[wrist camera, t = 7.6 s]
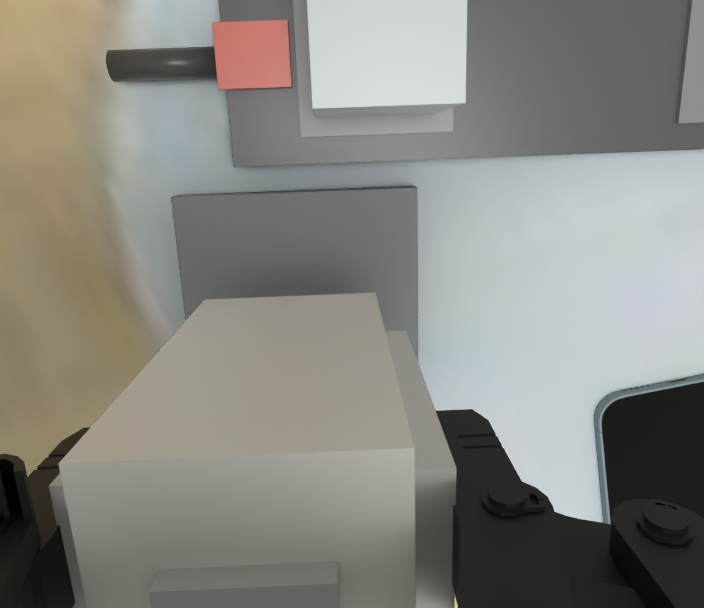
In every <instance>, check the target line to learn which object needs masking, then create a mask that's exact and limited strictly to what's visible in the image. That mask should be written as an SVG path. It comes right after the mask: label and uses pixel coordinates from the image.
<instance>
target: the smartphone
mask: <svg viewBox="0 0 704 608" xmlns="http://www.w3.org/2000/svg"><path fill="white" fill-rule="evenodd" d="M594 426H595V437H596V448H597V459H598V469H599V480H600V491H601V502H602V513H603V523H606V524H611V522H612V516H613V512H614V509H615V507H617V506H618V505H620V504H621V503H623V502H624V501H629V500H634V499H639V498H640V499H657V500H663V501H665V502H671V503H674V504H677V505H679V506H682V507H684V508H686V509H688V510H690V511H692V512H695V513H697V514H698V515H699V516H701V517H702V518H703V519H704V374H702V375H697V376H692V377H686V378H685V379H684V380H682V381H677V382H672V383H669V382H667V381H666V382H661V383H656V384H651V385H648V386H647V385H645V386H642V388H641V386H640V387H635V388H630V389H625V390H620V391H616V392H613V393H611V394H609V395H607V396H606V397H604V398H603V399H602V400H601V401H600V402H599V404H598V405H597V407H596V410H595V414H594Z"/></svg>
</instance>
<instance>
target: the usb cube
mask: <svg viewBox="0 0 704 608" xmlns="http://www.w3.org/2000/svg"><path fill="white" fill-rule="evenodd" d="M307 11H308V30H309V50H310V69H311V88H312V108H313V110H314V112H315V114H316V116H317V118H333V117H361V116H388V115H416V114H436V113H439V112H442V111H445V110H448V109H450V108H453V107H456V106H459V105H462V104H464V103H466V49H467V0H307Z"/></svg>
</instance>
